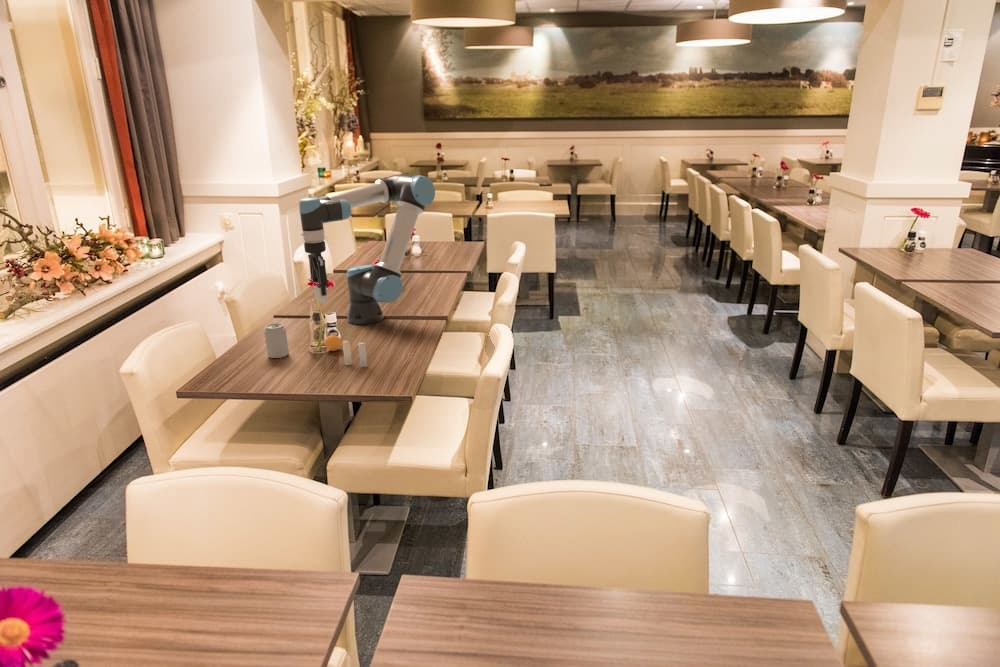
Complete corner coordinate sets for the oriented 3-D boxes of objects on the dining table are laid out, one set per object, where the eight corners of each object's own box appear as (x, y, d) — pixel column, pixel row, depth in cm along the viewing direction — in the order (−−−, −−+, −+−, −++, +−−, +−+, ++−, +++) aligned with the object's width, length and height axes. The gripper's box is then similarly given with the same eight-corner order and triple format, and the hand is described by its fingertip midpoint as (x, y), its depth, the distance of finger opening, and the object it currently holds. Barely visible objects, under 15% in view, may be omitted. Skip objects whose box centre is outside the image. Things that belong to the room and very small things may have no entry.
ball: (323, 349, 253) (322, 334, 251) (339, 346, 255) (337, 331, 253) (328, 354, 248) (326, 339, 246) (344, 351, 250) (342, 335, 248)
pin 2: (359, 365, 236) (357, 343, 233) (366, 364, 237) (363, 341, 234) (361, 368, 234) (359, 345, 231) (368, 366, 235) (366, 343, 232)
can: (292, 352, 251) (288, 322, 247) (284, 359, 244) (279, 328, 240) (273, 352, 251) (268, 322, 248) (264, 359, 244) (259, 328, 241)
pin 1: (344, 364, 238) (341, 341, 235) (350, 362, 239) (348, 340, 236) (346, 366, 236) (343, 343, 233) (352, 364, 237) (350, 342, 234)
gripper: (297, 238, 252) (304, 297, 260) (311, 246, 236) (319, 309, 244) (317, 235, 256) (324, 294, 263) (332, 243, 240) (339, 305, 248)
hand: (321, 301), depth 254 cm, fingers open, 6 cm apart
